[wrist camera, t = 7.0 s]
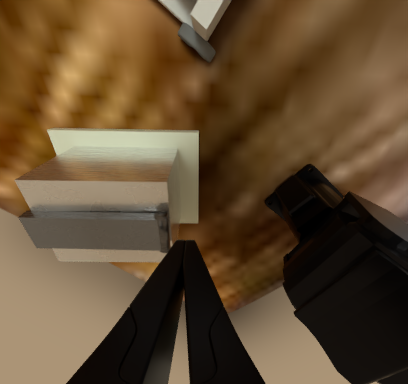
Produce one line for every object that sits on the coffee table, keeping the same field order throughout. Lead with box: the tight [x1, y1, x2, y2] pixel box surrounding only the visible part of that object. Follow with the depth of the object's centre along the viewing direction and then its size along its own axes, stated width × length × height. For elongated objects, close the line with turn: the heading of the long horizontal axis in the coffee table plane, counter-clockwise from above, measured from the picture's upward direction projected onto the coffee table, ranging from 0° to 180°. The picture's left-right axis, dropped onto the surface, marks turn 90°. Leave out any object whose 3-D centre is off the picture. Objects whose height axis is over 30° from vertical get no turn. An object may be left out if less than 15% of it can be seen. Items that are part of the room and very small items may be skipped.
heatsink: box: [15, 146, 181, 262], centre depth 18 cm, size 11×8×7 cm
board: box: [47, 128, 199, 223], centre depth 21 cm, size 14×11×1 cm
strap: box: [18, 211, 171, 253], centre depth 15 cm, size 10×3×1 cm, turn 89°
